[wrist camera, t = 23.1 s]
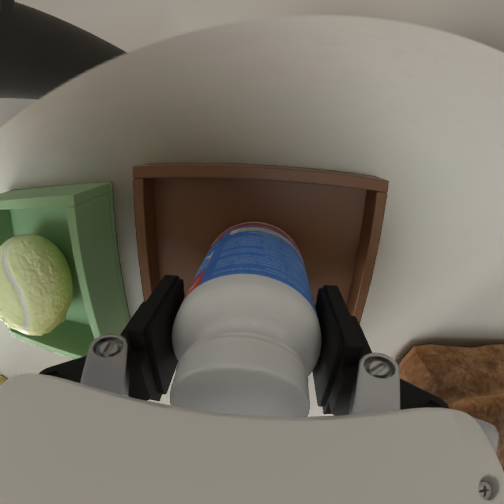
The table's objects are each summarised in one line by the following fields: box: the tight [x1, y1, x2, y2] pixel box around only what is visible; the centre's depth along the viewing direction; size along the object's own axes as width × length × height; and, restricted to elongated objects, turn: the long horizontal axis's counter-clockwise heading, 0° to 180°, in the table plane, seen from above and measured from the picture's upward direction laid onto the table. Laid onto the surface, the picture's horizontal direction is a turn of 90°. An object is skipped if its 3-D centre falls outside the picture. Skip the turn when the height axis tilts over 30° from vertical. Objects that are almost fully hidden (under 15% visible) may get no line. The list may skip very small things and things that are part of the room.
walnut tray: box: [133, 163, 389, 324], centre depth 15 cm, size 11×13×2 cm
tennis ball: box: [0, 234, 73, 336], centre depth 14 cm, size 6×7×7 cm
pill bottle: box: [170, 222, 322, 417], centre depth 11 cm, size 6×5×10 cm
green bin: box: [0, 182, 130, 359], centre depth 15 cm, size 11×11×4 cm
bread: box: [398, 344, 504, 471], centre depth 15 cm, size 17×30×13 cm, turn 80°
